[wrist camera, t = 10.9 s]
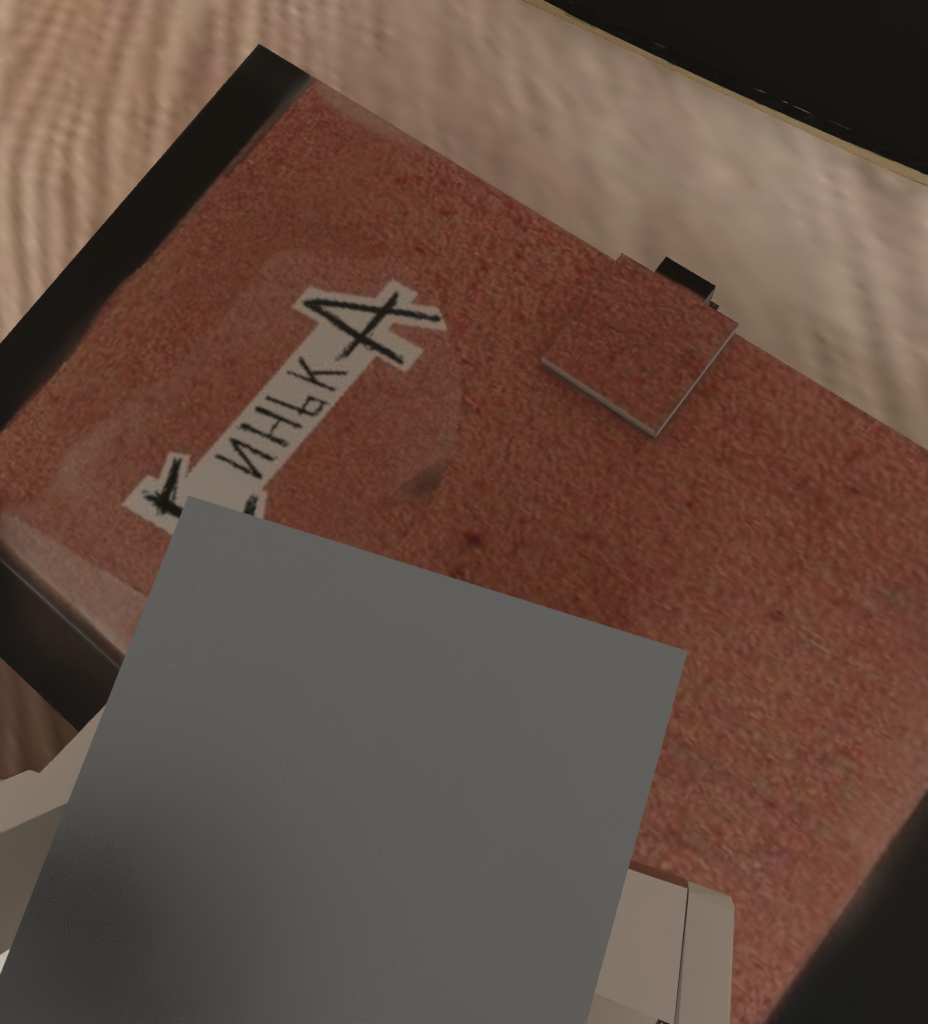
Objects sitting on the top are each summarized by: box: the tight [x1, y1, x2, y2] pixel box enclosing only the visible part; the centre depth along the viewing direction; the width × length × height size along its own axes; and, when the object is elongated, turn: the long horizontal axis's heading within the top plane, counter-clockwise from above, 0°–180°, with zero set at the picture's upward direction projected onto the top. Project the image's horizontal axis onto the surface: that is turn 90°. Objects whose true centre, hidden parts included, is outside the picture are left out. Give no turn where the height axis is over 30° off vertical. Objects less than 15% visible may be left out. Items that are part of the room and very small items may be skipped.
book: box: [0, 44, 928, 1024], centre depth 20 cm, size 26×18×5 cm
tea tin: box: [0, 496, 687, 1024], centre depth 11 cm, size 5×5×8 cm
